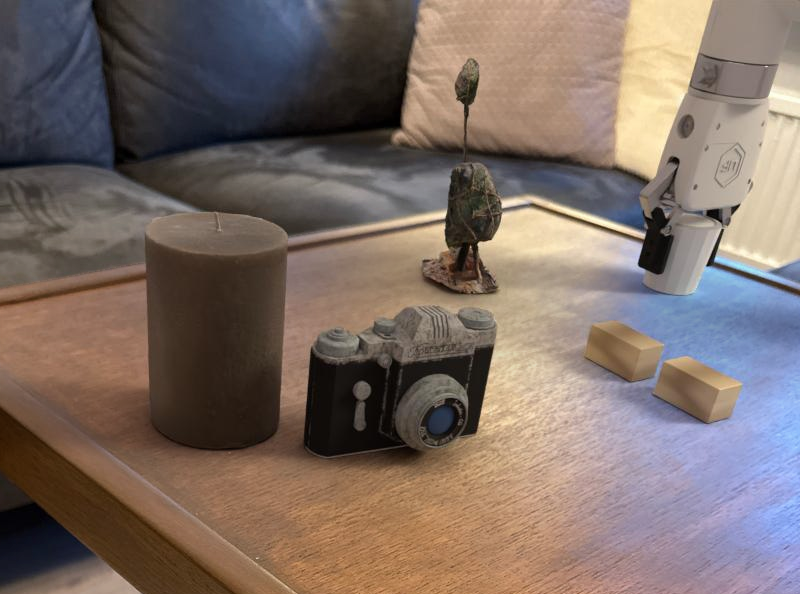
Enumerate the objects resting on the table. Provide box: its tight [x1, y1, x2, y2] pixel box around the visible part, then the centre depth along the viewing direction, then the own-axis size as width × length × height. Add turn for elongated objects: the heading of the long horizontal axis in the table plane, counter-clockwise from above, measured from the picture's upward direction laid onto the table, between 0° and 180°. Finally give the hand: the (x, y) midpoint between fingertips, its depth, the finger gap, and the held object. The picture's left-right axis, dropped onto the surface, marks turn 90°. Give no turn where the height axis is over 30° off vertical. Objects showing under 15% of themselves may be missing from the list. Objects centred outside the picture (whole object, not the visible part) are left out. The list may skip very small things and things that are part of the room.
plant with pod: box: [421, 57, 504, 295], centre depth 96 cm, size 8×11×20 cm
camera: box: [302, 304, 499, 459], centre depth 70 cm, size 15×7×10 cm, turn 115°
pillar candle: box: [144, 210, 289, 450], centre depth 69 cm, size 10×10×15 cm
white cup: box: [643, 209, 723, 296], centre depth 105 cm, size 7×7×7 cm
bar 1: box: [583, 319, 665, 383], centre depth 87 cm, size 6×3×3 cm, turn 32°
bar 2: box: [652, 355, 744, 424], centre depth 82 cm, size 6×3×3 cm, turn 32°
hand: (675, 265), depth 106 cm, fingers open, 7 cm apart
